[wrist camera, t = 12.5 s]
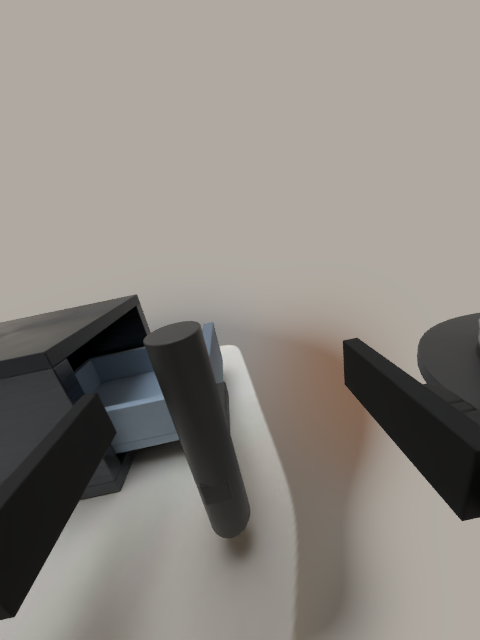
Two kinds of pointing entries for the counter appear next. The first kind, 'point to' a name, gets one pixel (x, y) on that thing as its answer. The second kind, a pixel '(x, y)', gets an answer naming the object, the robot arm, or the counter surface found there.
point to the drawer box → (60, 377)
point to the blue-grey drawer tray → (176, 411)
